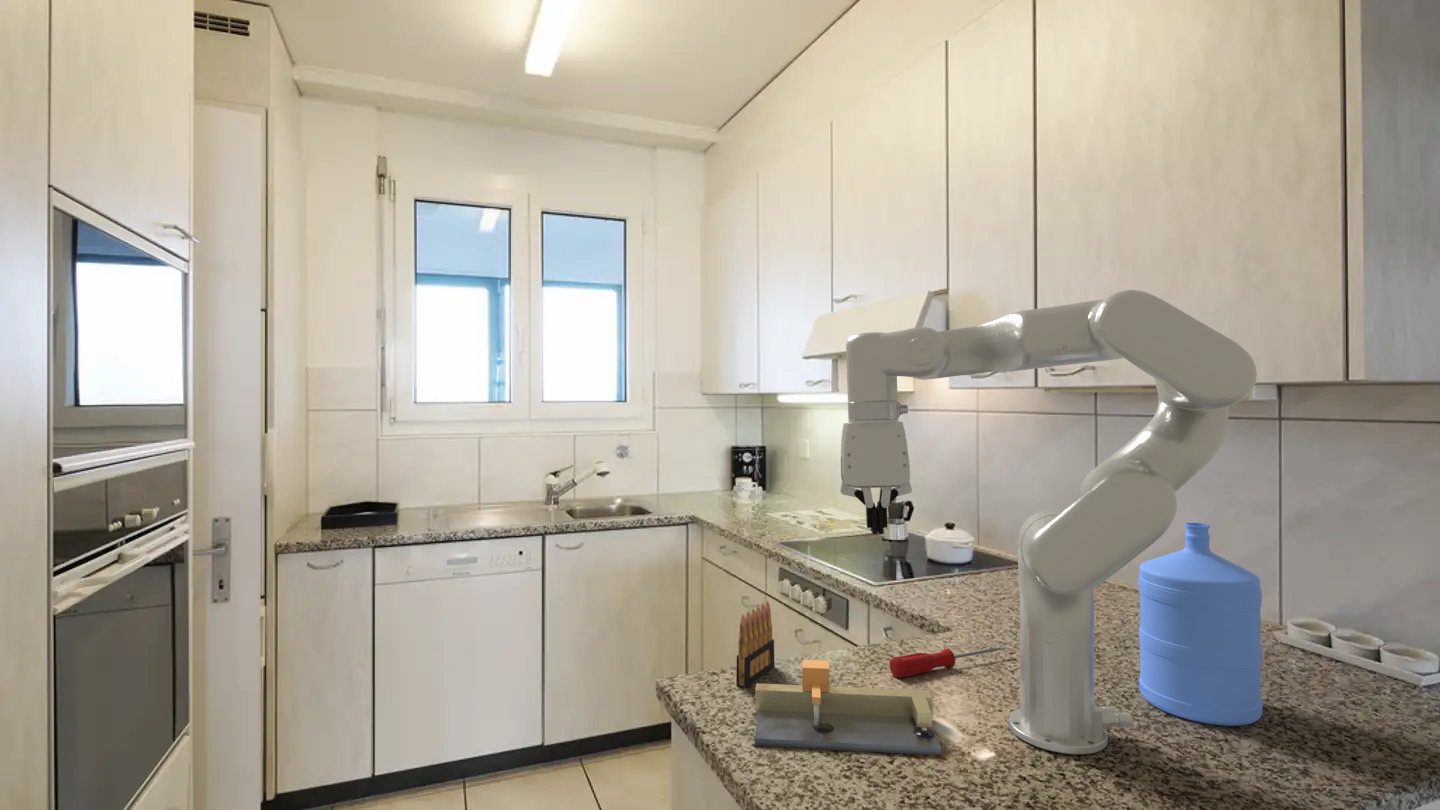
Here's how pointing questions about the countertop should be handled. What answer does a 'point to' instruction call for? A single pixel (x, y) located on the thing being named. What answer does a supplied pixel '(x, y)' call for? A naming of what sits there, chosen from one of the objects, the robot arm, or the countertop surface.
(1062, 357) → the robot arm
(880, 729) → the drilled steel plate with beam
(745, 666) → the ammunition clip
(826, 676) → the sliding head
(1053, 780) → the countertop surface
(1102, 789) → the countertop surface
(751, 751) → the countertop surface
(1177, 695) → the water jug
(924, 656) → the screwdriver
